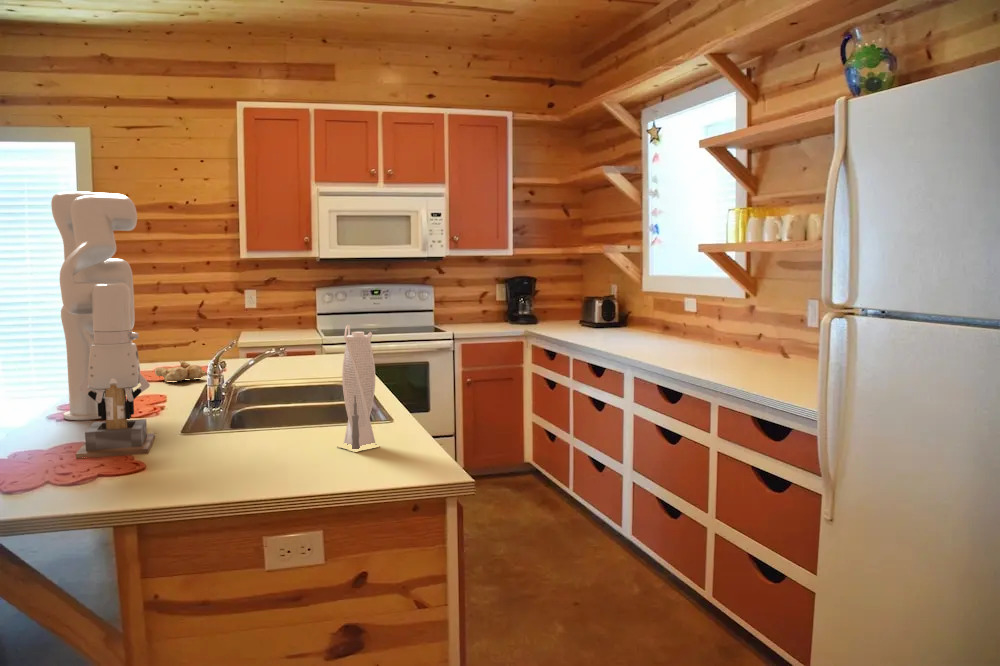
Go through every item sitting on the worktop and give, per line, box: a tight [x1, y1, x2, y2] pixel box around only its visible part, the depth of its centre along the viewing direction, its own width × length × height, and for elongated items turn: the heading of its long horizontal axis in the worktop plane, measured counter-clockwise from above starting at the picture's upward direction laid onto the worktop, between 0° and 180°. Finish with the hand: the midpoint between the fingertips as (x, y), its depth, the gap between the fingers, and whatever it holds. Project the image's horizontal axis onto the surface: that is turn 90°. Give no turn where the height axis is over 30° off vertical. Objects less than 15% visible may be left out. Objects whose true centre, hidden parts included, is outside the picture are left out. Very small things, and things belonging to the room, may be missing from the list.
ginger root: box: [154, 359, 208, 382], centre depth 260 cm, size 16×16×8 cm
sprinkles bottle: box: [105, 378, 128, 429], centre depth 169 cm, size 5×5×13 cm
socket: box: [75, 418, 156, 459], centre depth 170 cm, size 16×14×6 cm
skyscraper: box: [341, 323, 376, 449], centre depth 170 cm, size 8×8×28 cm
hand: (116, 417), depth 169 cm, fingers closed on sprinkles bottle, 4 cm apart
